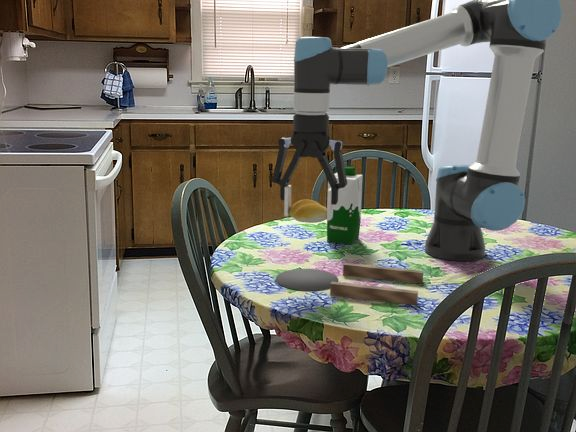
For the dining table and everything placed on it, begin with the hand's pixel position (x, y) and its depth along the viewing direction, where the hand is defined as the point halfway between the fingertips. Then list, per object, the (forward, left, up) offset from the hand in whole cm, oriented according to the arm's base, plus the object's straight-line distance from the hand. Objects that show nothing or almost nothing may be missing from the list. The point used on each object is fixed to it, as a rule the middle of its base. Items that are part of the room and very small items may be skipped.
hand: (308, 216), depth 139 cm
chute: (-16, 0, -15) cm, 22 cm away
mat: (0, 0, -15) cm, 15 cm away
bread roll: (0, 0, -1) cm, 1 cm away
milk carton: (-1, -35, -15) cm, 38 cm away
